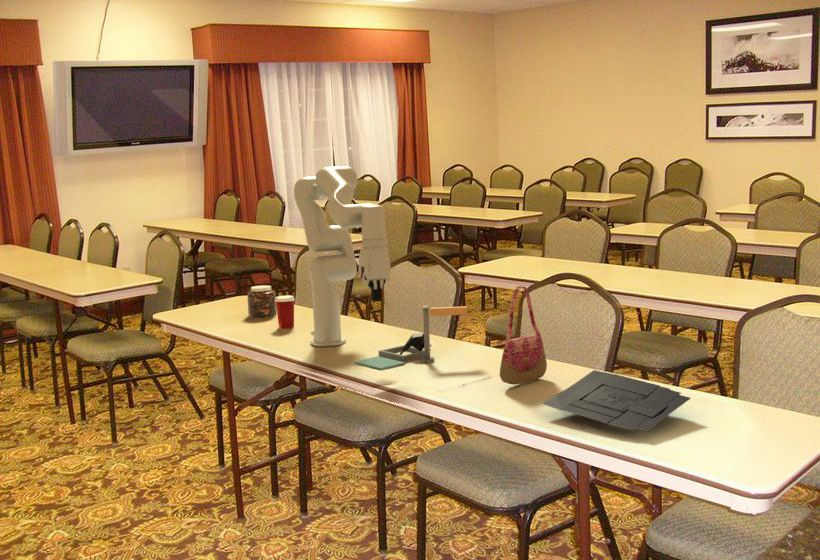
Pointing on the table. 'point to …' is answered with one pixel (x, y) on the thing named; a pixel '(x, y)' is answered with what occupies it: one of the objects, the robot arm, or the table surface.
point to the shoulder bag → (522, 351)
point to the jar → (261, 302)
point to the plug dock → (416, 353)
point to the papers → (618, 400)
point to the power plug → (415, 342)
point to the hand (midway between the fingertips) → (376, 300)
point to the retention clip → (448, 311)
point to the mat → (379, 363)
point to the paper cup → (285, 311)
